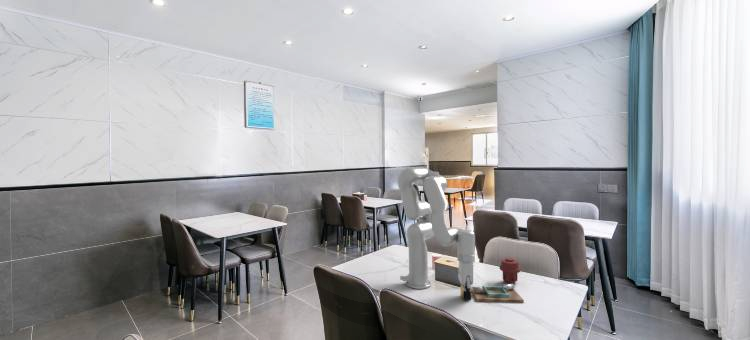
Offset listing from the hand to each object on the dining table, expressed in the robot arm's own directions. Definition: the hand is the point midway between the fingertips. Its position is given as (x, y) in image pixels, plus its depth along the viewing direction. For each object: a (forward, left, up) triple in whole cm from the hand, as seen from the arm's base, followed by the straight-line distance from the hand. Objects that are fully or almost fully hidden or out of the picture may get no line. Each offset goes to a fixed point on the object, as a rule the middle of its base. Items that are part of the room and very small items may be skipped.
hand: (465, 296), depth 146 cm
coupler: (0, 0, -1) cm, 1 cm away
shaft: (+21, +8, -1) cm, 23 cm away
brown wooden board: (+14, +4, -1) cm, 15 cm away
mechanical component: (+26, +21, -1) cm, 34 cm away
